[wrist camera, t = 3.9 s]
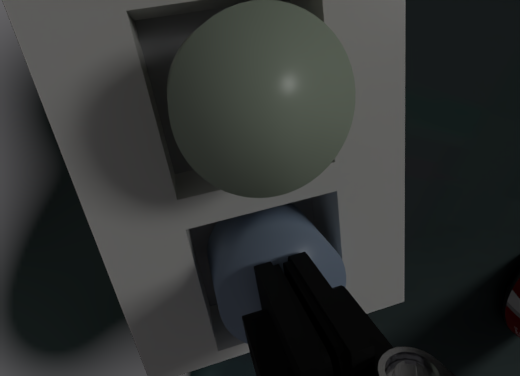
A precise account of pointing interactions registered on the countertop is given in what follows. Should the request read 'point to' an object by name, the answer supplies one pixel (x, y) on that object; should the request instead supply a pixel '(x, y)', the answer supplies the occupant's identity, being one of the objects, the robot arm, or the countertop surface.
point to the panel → (191, 183)
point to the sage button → (261, 98)
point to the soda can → (512, 304)
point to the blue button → (262, 257)
